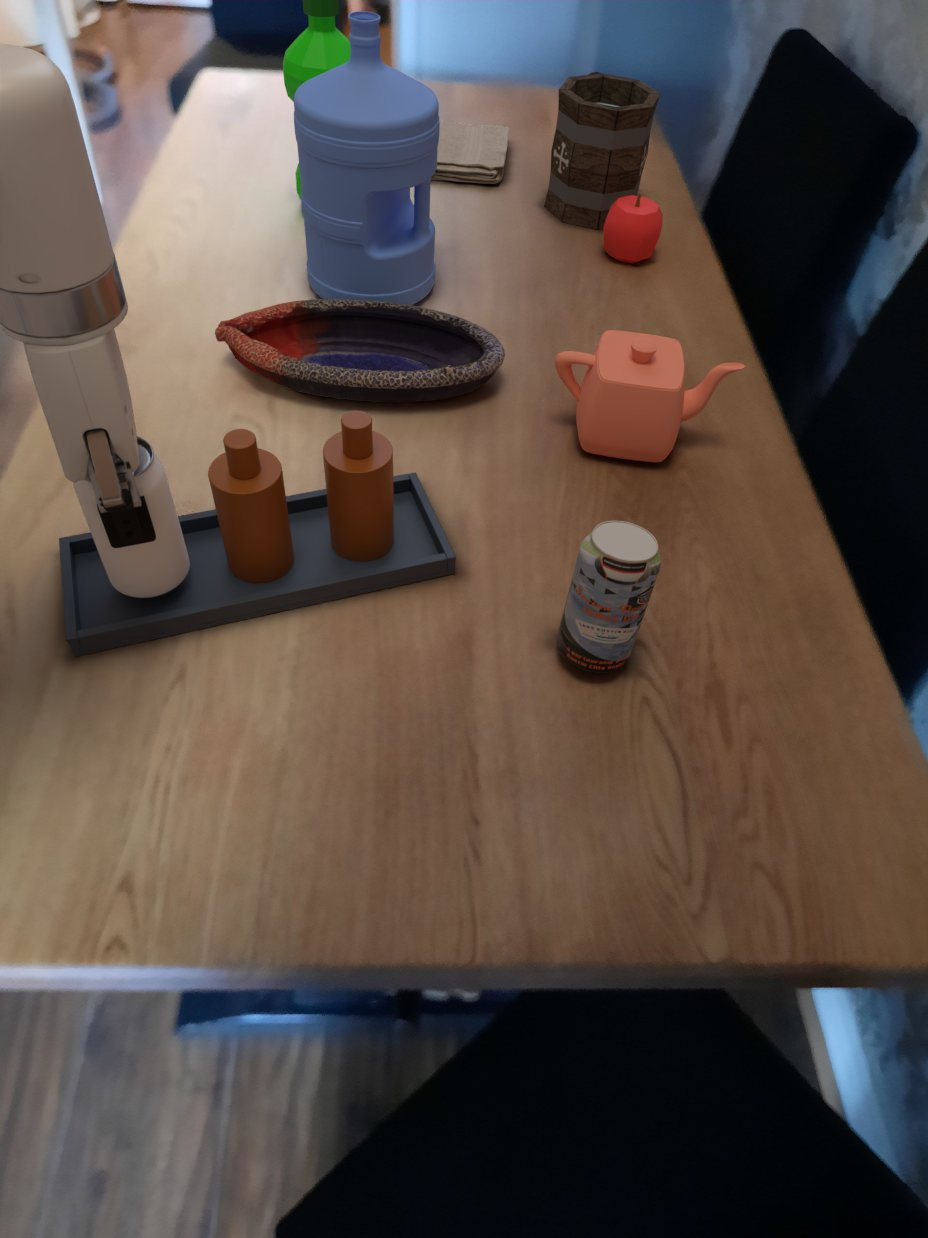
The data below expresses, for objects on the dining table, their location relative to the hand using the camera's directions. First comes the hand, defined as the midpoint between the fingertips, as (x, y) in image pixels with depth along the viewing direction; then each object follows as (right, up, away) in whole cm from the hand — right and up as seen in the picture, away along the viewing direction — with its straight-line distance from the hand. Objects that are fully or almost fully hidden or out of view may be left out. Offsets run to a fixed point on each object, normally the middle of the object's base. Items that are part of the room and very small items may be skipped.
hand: (129, 508), depth 65 cm
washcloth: (+26, +62, +66) cm, 94 cm away
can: (0, -5, +6) cm, 7 cm away
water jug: (+14, +33, +41) cm, 55 cm away
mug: (+44, +53, +60) cm, 91 cm away
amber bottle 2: (+17, -1, +11) cm, 20 cm away
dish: (+14, +19, +29) cm, 37 cm away
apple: (+47, +40, +49) cm, 79 cm away
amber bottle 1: (+8, -3, +9) cm, 12 cm away
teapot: (+43, +11, +24) cm, 51 cm away
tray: (+8, -4, +9) cm, 13 cm away
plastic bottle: (+8, +48, +53) cm, 72 cm away
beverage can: (+36, -11, +5) cm, 38 cm away
